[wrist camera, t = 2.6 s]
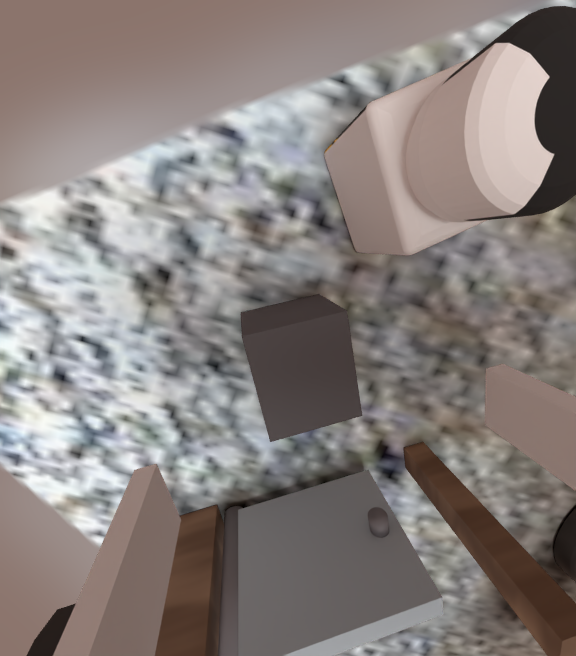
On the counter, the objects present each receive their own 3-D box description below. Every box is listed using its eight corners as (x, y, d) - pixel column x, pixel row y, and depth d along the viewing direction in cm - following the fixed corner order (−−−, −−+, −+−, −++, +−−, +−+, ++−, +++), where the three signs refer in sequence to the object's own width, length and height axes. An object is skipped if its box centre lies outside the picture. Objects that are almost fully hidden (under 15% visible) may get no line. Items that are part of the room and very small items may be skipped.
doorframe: (424, 461, 28) (592, 655, 15) (183, 537, 26) (125, 847, 12) (423, 441, 27) (597, 626, 14) (174, 517, 25) (103, 825, 12)
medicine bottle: (416, 110, 19) (671, -83, 8) (440, 215, 22) (664, 181, 10) (320, 152, 19) (443, 15, 8) (354, 254, 21) (488, 264, 10)
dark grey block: (332, 375, 24) (362, 415, 18) (262, 394, 23) (270, 442, 18) (318, 293, 22) (347, 310, 16) (240, 312, 21) (241, 336, 16)
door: (368, 480, 27) (450, 628, 17) (227, 524, 26) (220, 715, 15) (364, 456, 26) (448, 595, 16) (218, 500, 25) (204, 685, 14)
